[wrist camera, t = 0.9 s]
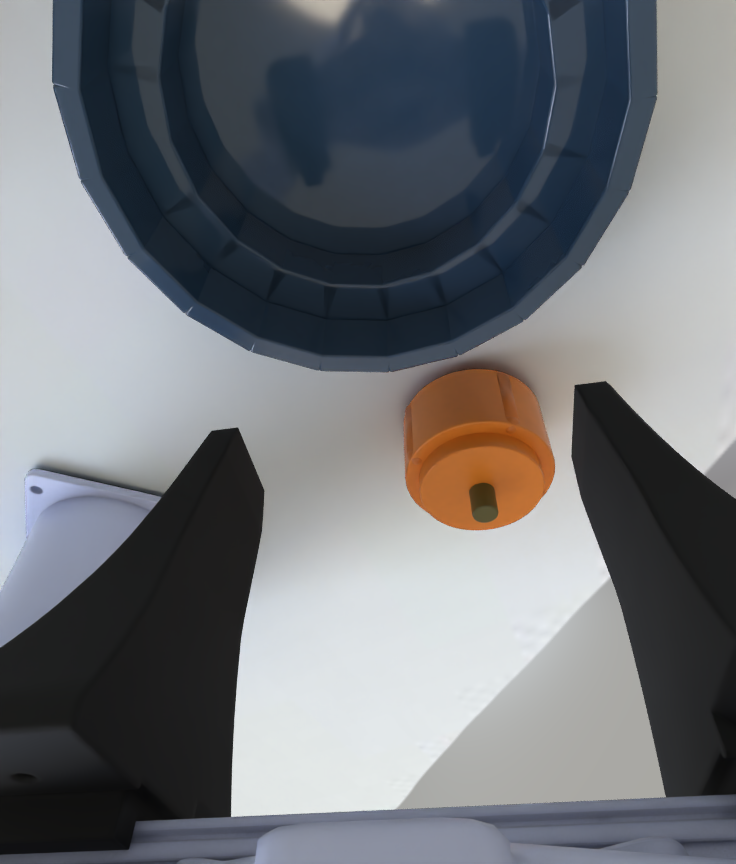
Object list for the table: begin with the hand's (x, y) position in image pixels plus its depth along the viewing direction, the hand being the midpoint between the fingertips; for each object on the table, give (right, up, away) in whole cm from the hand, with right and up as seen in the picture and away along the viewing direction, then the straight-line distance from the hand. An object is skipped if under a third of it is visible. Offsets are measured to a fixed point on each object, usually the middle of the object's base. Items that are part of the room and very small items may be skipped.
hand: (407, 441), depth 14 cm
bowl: (-1, +10, +4) cm, 11 cm away
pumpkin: (+3, +1, +12) cm, 13 cm away
